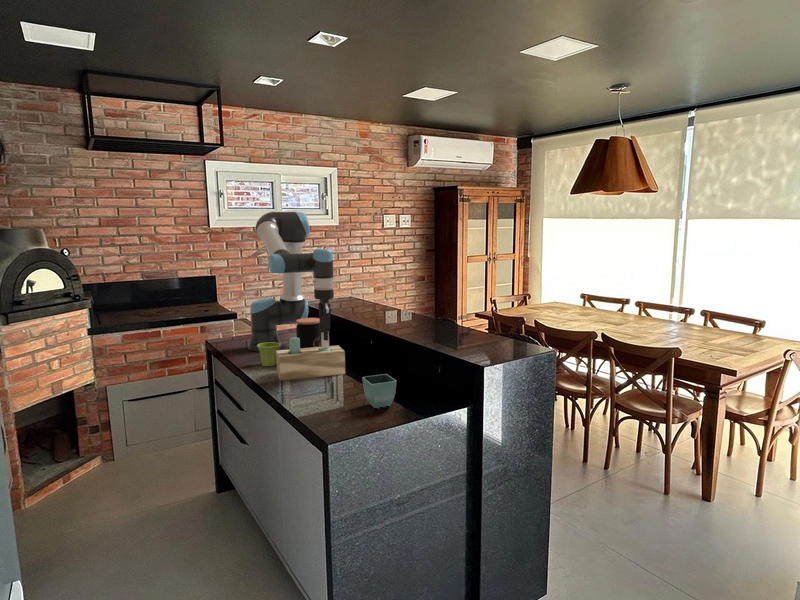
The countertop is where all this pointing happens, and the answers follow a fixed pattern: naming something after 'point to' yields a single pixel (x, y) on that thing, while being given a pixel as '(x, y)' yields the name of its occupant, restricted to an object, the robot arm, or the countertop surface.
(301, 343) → the coffee jar
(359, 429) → the countertop surface
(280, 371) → the socket block
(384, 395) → the flower pot
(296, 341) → the peg
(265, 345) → the plant pot
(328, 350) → the peg
